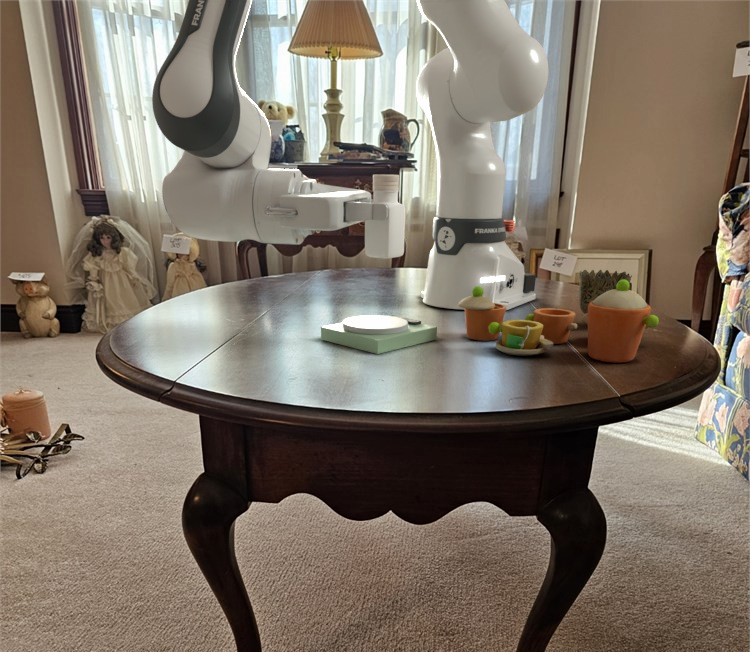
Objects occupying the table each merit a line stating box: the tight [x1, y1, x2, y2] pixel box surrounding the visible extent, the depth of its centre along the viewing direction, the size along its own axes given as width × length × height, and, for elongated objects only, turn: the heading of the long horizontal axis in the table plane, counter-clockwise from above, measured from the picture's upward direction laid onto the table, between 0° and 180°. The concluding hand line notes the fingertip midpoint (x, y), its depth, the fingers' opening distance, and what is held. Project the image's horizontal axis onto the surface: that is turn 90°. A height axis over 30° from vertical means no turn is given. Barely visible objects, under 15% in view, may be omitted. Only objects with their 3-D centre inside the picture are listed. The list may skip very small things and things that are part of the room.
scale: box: [320, 314, 438, 355], centre depth 91 cm, size 12×11×3 cm
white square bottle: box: [364, 174, 406, 260], centre depth 82 cm, size 4×4×10 cm
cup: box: [578, 269, 633, 327], centre depth 99 cm, size 8×7×8 cm
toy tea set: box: [458, 280, 660, 364], centre depth 87 cm, size 26×16×10 cm, turn 80°
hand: (392, 210), depth 82 cm, fingers closed on white square bottle, 5 cm apart
